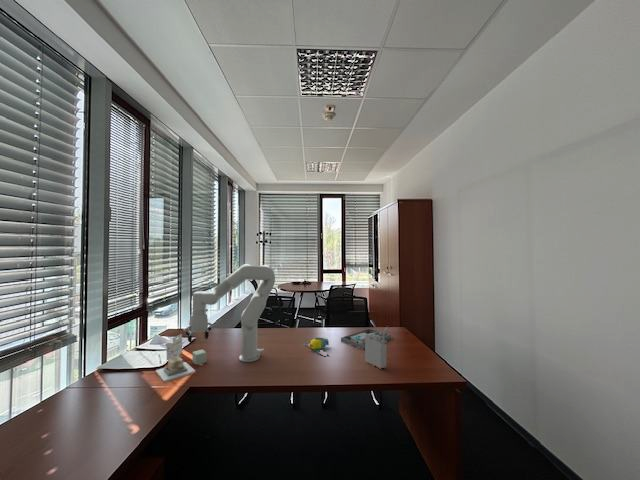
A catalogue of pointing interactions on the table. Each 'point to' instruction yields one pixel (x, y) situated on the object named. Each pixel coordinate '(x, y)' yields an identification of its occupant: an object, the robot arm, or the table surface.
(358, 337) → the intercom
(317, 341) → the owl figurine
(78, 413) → the table surface
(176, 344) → the ink cartridge box
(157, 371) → the baseplate
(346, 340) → the desk tray
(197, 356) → the sage block
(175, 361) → the maple block
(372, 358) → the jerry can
